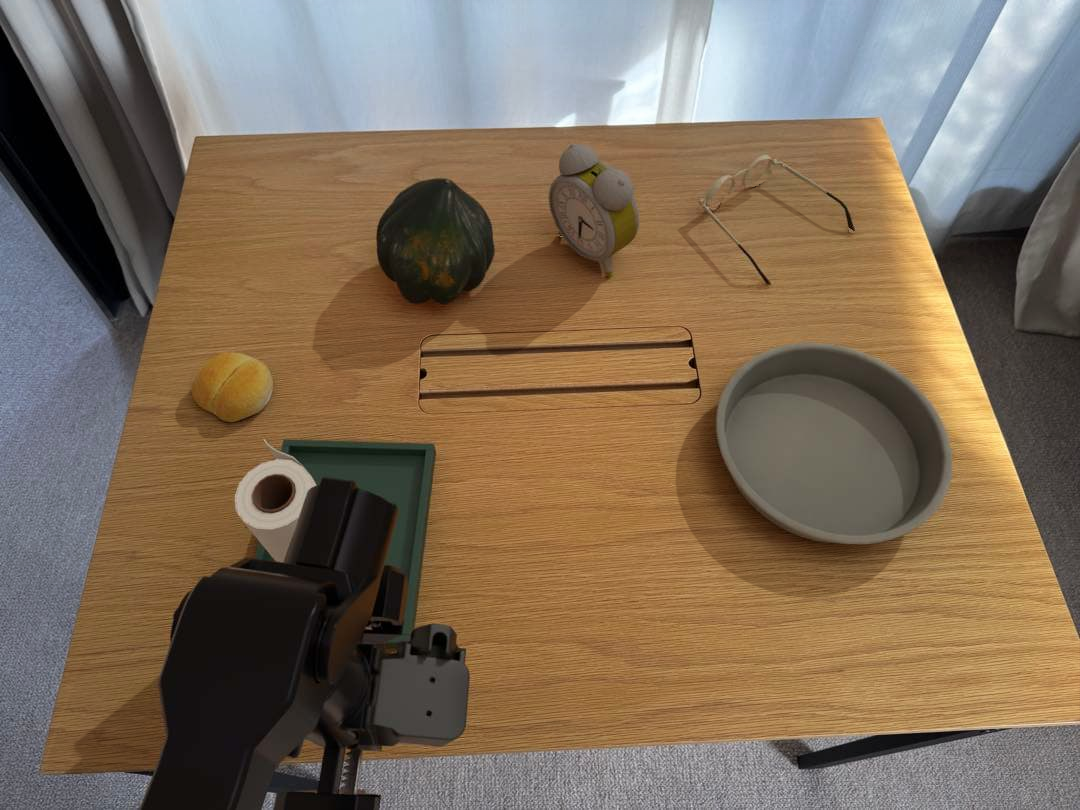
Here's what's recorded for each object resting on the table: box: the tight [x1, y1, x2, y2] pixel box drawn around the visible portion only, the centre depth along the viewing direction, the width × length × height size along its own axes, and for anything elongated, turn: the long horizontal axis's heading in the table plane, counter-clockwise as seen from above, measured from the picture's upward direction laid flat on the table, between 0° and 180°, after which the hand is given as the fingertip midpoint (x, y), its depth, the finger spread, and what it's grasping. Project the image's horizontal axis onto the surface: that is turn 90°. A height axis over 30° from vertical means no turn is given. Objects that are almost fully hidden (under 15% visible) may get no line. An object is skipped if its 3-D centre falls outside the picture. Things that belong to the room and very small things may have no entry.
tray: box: [254, 439, 437, 649], centre depth 79 cm, size 22×17×2 cm
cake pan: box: [715, 342, 953, 545], centre depth 83 cm, size 25×25×4 cm
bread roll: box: [191, 351, 274, 423], centre depth 88 cm, size 8×9×4 cm
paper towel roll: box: [234, 438, 317, 562], centre depth 68 cm, size 7×6×21 cm
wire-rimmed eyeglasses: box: [697, 154, 856, 286], centre depth 102 cm, size 17×15×5 cm
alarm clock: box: [548, 143, 640, 278], centre depth 95 cm, size 12×7×15 cm, turn 41°
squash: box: [375, 177, 496, 306], centre depth 94 cm, size 14×15×15 cm
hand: (368, 726), depth 58 cm, fingers open, 9 cm apart
